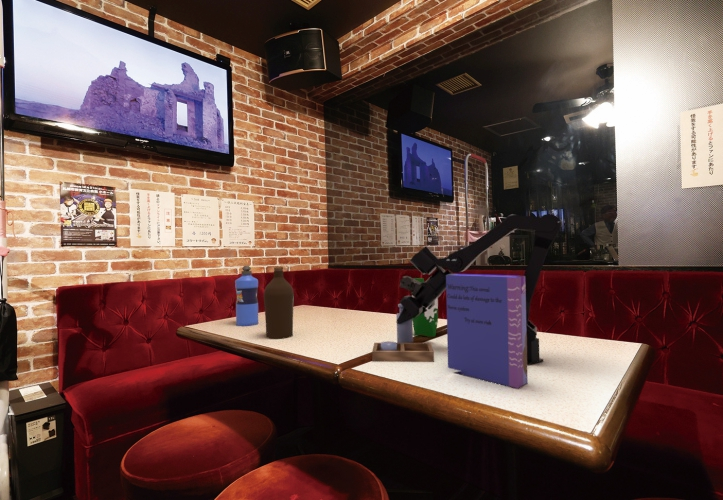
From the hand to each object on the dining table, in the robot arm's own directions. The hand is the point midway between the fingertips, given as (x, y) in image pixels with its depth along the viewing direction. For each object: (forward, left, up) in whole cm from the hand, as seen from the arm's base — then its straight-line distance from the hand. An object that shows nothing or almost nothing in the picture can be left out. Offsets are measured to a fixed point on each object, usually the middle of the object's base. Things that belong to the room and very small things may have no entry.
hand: (400, 321), depth 116 cm
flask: (-1, -1, -7) cm, 7 cm away
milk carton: (+12, -19, -8) cm, 24 cm away
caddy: (-10, +6, -8) cm, 14 cm away
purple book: (-32, -2, -9) cm, 33 cm away
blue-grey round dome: (-8, +9, -7) cm, 14 cm away
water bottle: (+70, +31, -8) cm, 77 cm away
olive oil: (+39, +26, -8) cm, 48 cm away
